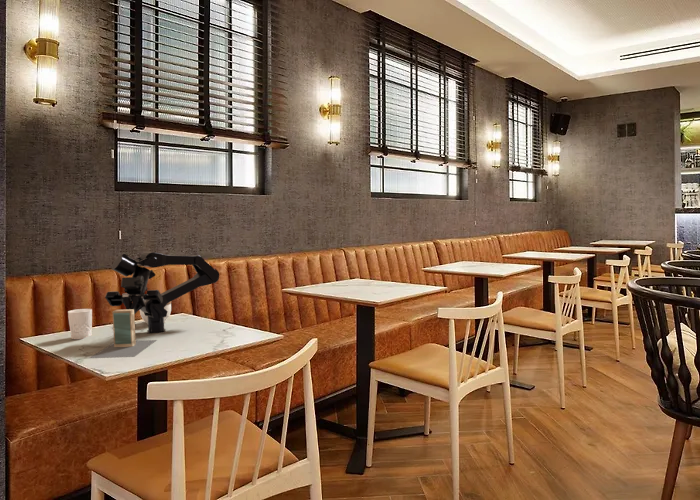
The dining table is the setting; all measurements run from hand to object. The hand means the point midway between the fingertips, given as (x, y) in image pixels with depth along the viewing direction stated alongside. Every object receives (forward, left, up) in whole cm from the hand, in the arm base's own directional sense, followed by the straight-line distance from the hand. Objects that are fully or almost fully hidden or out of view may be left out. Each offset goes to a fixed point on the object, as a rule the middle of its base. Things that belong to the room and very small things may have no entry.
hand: (128, 317), depth 187 cm
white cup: (-18, -17, -9) cm, 26 cm away
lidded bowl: (-34, +9, -9) cm, 36 cm away
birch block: (+6, -1, -8) cm, 10 cm away
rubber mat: (+10, -1, -9) cm, 14 cm away
